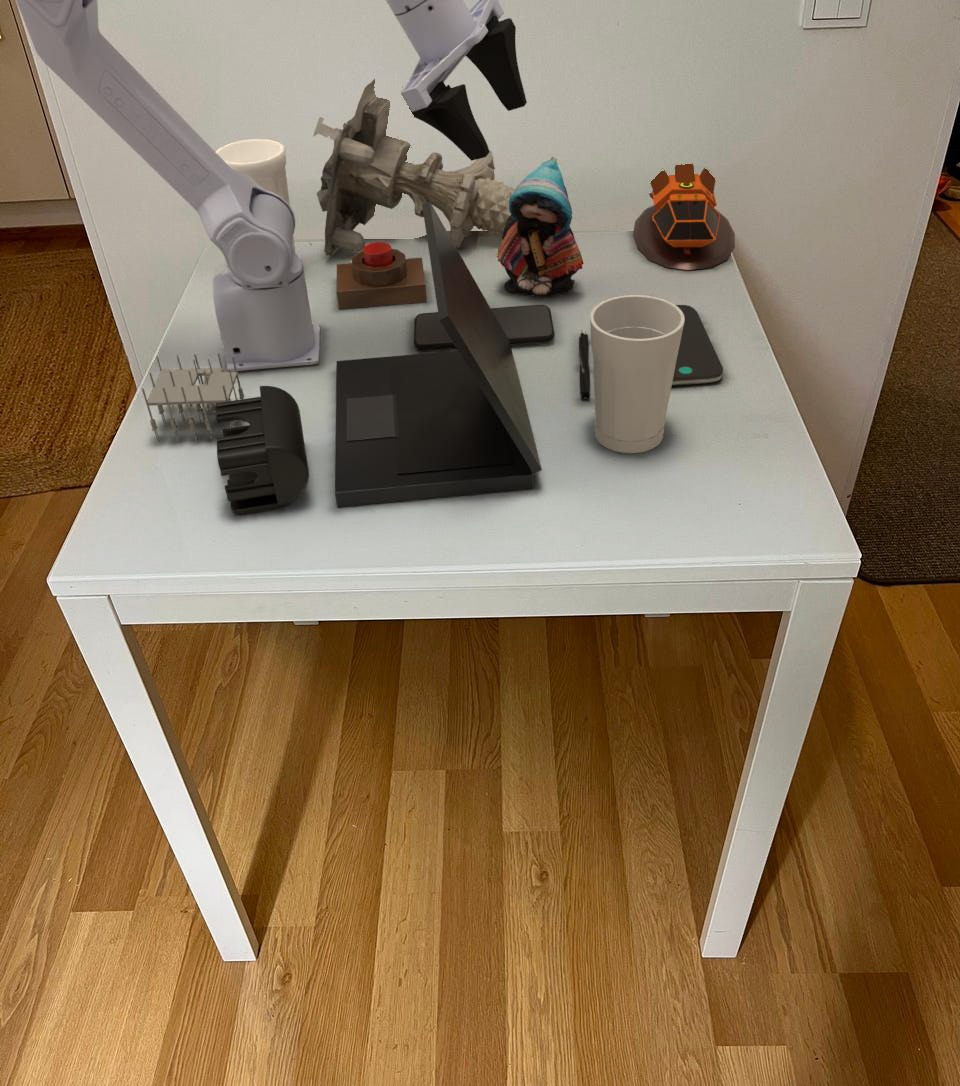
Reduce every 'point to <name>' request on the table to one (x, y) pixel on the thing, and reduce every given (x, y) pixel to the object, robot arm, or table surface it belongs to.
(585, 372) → the black pen
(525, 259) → the figurine
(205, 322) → the table surface
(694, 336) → the smartphone
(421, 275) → the switch block
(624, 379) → the cup
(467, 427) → the laptop
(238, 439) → the end cap
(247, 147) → the cup
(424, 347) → the smartphone
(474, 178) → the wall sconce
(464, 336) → the laptop screen
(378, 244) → the button
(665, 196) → the toy spacecraft
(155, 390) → the building frame
